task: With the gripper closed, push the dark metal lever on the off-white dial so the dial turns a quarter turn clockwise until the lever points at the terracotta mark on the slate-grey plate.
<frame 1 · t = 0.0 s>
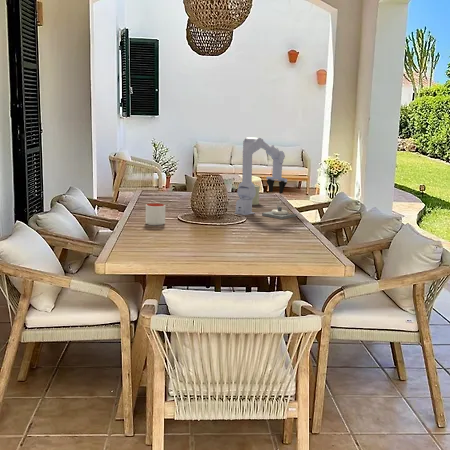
hand: (275, 192, 371), 10 cm above the table, tool pointing down, fingers open, 7 cm apart
can: (251, 203, 390), on the table
dial: (279, 210, 349), point 3 cm above the table, hinge at 45.0°
dial plate: (279, 216, 349), on the table
cup: (155, 224, 311), on the table
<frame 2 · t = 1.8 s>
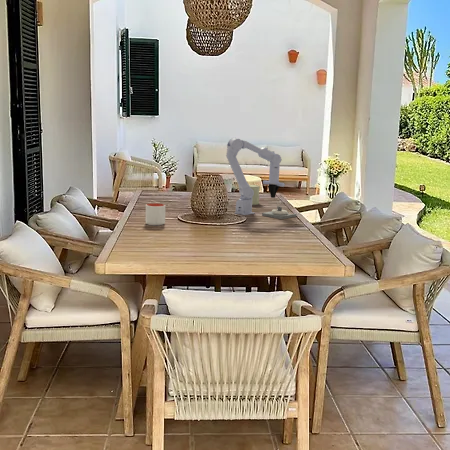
hand: (272, 197, 355), 9 cm above the table, tool pointing down, fingers closed
nothing on the table moved.
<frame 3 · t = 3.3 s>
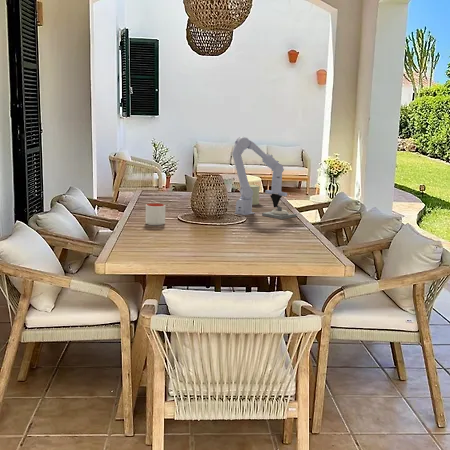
hand: (275, 207, 354), 4 cm above the table, tool pointing down, fingers closed, pressing on dial
dial: (279, 210, 349), point 3 cm above the table, hinge at 45.0°, touching gripper
everything else where it was.
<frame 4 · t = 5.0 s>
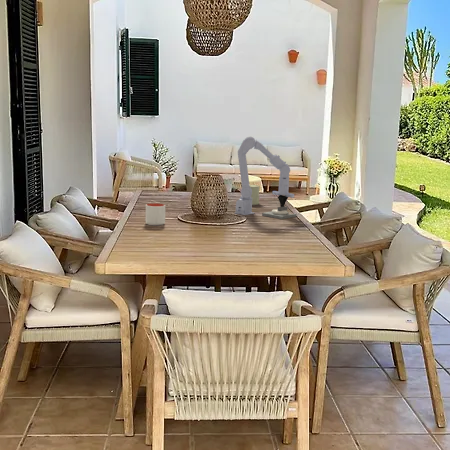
hand: (282, 208, 351), 4 cm above the table, tool pointing down, fingers closed, pressing on dial
dial: (280, 210, 349), point 3 cm above the table, hinge at -1.5°, touching gripper
everything else where it was.
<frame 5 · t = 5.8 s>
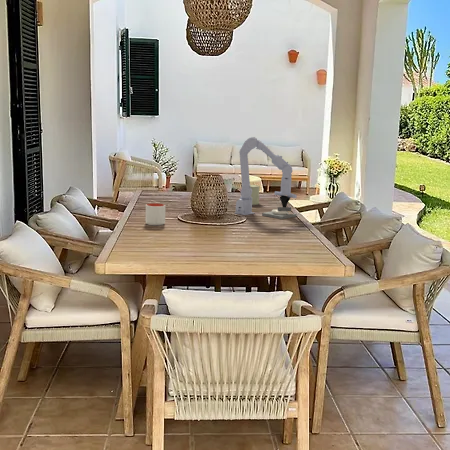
hand: (284, 208, 350), 4 cm above the table, tool pointing down, fingers closed, pressing on dial
dial: (281, 210, 348), point 3 cm above the table, hinge at -40.2°, touching gripper
everything else where it was.
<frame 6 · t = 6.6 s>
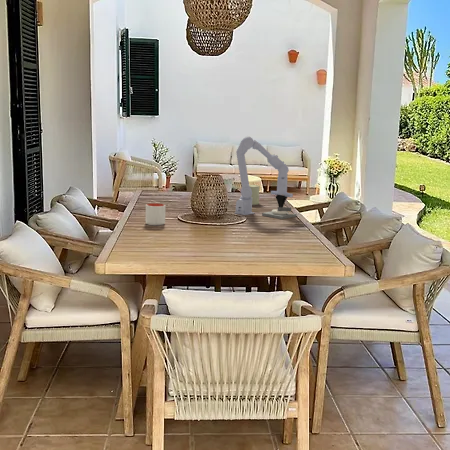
hand: (280, 208, 352), 4 cm above the table, tool pointing down, fingers closed
dial: (281, 210, 348), point 3 cm above the table, hinge at -47.2°
everything else where it was.
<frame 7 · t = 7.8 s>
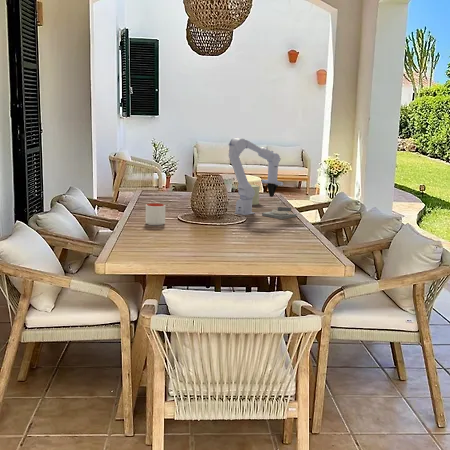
hand: (271, 196, 358), 9 cm above the table, tool pointing down, fingers closed
nothing on the table moved.
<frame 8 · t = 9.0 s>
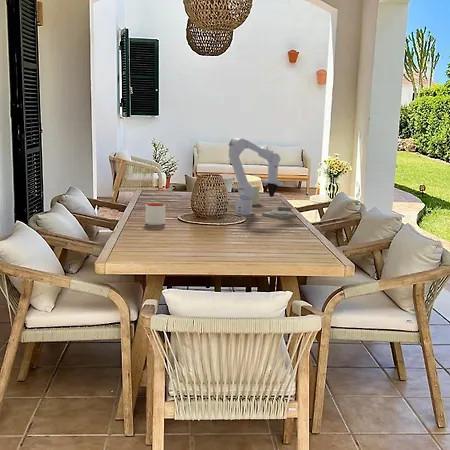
hand: (271, 196, 358), 9 cm above the table, tool pointing down, fingers closed
nothing on the table moved.
at the end: dial at -47° (first picture: +45°) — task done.
